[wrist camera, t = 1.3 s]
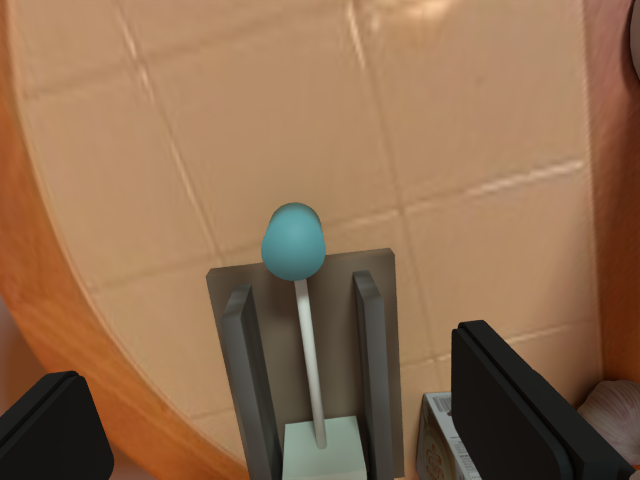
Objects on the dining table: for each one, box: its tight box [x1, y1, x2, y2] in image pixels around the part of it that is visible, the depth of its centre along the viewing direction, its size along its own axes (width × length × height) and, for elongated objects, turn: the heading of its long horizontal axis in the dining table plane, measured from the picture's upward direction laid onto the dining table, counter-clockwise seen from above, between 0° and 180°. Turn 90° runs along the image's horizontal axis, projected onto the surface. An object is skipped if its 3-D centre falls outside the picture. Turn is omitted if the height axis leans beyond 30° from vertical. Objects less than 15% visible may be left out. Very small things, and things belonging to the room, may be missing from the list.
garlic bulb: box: [577, 380, 640, 465], centre depth 29 cm, size 8×7×8 cm
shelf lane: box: [206, 248, 405, 480], centre depth 27 cm, size 14×22×6 cm, turn 6°
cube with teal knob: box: [261, 203, 367, 480], centre depth 25 cm, size 6×25×5 cm, turn 6°
